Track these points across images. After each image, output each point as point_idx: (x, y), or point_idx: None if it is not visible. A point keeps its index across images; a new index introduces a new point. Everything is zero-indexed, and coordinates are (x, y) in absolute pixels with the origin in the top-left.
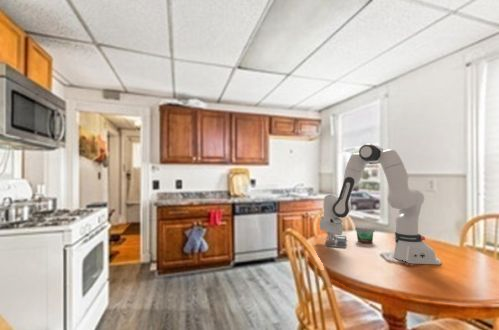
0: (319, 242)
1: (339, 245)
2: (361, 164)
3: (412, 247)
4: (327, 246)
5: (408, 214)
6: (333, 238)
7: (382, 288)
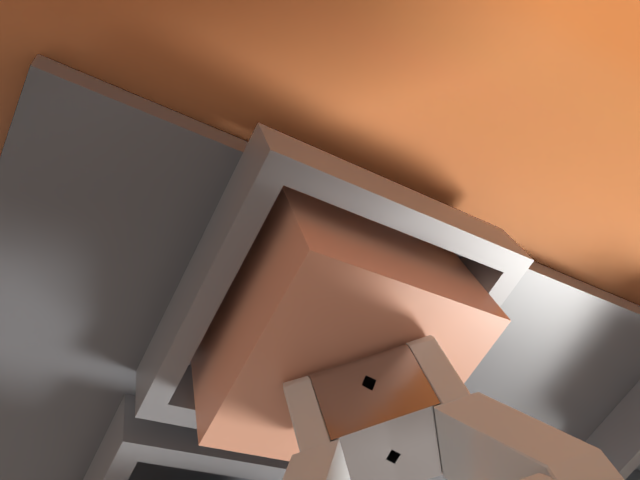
0: (581, 30)
1: (43, 444)
2: None
3: None
4: (21, 100)
5: None
6: None
7: None
